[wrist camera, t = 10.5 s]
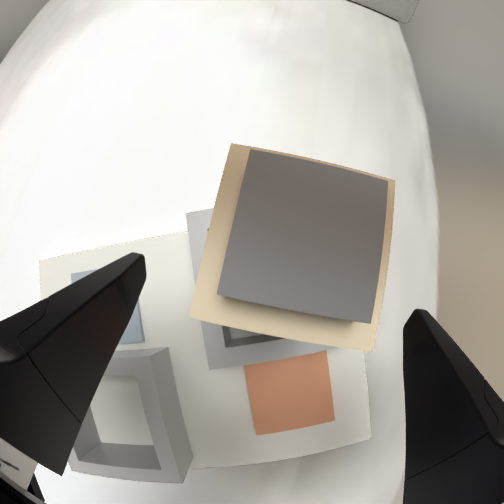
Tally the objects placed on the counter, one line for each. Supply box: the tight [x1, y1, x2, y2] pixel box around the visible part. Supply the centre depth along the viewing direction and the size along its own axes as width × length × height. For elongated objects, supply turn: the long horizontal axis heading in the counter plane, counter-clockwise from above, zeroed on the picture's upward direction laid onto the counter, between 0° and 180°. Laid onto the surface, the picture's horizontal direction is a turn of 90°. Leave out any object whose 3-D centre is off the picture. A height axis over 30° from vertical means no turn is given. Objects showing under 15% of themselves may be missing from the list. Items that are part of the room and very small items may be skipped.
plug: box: [189, 144, 395, 352], centre depth 12 cm, size 4×4×13 cm
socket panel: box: [39, 208, 371, 483], centre depth 16 cm, size 16×22×4 cm
